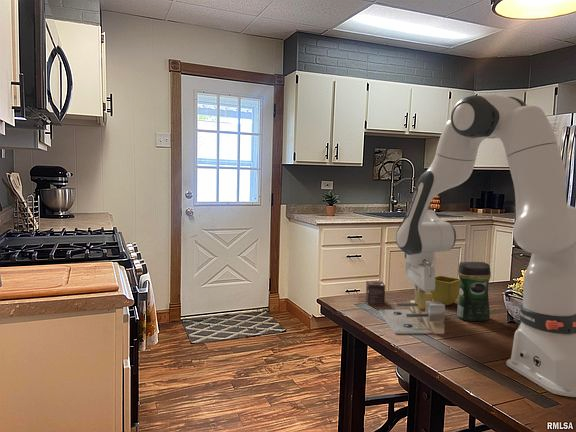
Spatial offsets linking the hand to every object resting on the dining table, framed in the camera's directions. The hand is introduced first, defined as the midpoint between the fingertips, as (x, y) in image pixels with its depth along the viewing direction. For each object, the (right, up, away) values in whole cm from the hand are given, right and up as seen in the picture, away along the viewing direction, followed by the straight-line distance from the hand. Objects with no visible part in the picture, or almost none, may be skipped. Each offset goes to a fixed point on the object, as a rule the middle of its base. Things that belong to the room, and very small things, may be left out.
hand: (419, 297), depth 145 cm
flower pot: (+13, -5, +13) cm, 18 cm away
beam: (-3, -6, -7) cm, 9 cm away
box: (-12, -5, +13) cm, 19 cm away
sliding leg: (-3, -2, -4) cm, 6 cm away
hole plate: (-8, -6, -9) cm, 13 cm away
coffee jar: (+16, -6, -4) cm, 18 cm away
